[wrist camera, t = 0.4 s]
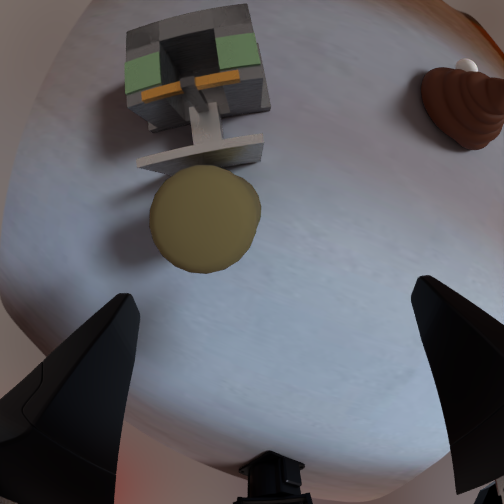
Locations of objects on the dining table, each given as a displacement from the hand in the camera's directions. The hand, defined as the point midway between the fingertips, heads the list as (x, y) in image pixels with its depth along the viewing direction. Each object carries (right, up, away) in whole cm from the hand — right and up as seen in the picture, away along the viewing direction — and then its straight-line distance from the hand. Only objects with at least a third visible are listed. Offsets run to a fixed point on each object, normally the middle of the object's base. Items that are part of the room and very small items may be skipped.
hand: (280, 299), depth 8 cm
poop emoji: (+20, +16, +12) cm, 29 cm away
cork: (-3, +5, +15) cm, 16 cm away
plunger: (-4, +10, +13) cm, 17 cm away
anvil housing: (-5, +15, +12) cm, 20 cm away
